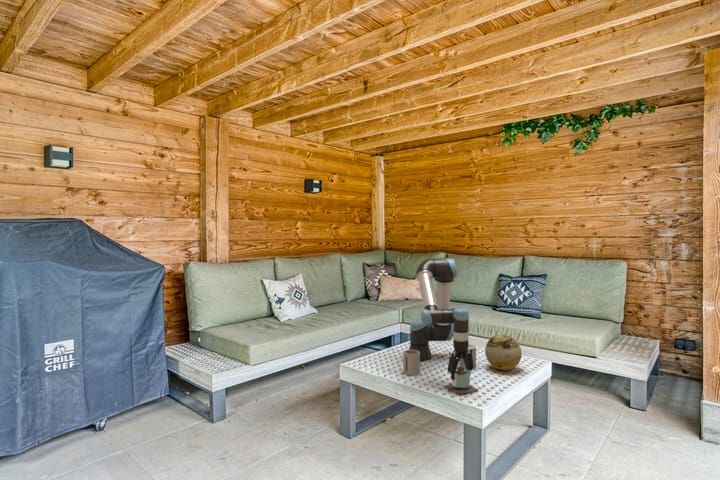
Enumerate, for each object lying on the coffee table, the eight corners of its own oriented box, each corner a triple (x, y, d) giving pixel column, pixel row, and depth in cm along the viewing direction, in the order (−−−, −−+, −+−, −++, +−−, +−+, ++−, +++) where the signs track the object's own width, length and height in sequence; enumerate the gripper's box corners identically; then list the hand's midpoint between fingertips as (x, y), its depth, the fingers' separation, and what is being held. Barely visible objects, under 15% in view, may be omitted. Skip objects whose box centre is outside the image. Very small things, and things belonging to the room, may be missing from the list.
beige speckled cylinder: (476, 370, 238) (476, 349, 238) (459, 369, 240) (459, 348, 240) (475, 365, 247) (475, 344, 247) (459, 364, 249) (459, 343, 249)
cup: (421, 371, 238) (421, 350, 237) (418, 376, 229) (418, 355, 229) (405, 369, 240) (405, 349, 240) (402, 374, 232) (401, 353, 232)
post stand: (443, 387, 213) (443, 366, 212) (461, 383, 219) (461, 362, 218) (460, 396, 202) (460, 373, 202) (478, 391, 208) (478, 369, 208)
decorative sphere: (482, 363, 251) (482, 330, 250) (516, 364, 249) (516, 331, 248) (489, 374, 231) (489, 339, 230) (525, 376, 229) (526, 340, 228)
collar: (449, 383, 212) (449, 371, 212) (461, 380, 216) (461, 369, 216) (460, 388, 205) (460, 376, 205) (472, 385, 209) (472, 373, 209)
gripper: (450, 344, 201) (450, 390, 202) (481, 338, 212) (481, 382, 212) (439, 340, 208) (439, 385, 208) (470, 335, 218) (470, 378, 219)
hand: (460, 384), depth 210 cm, fingers closed on collar, 8 cm apart
